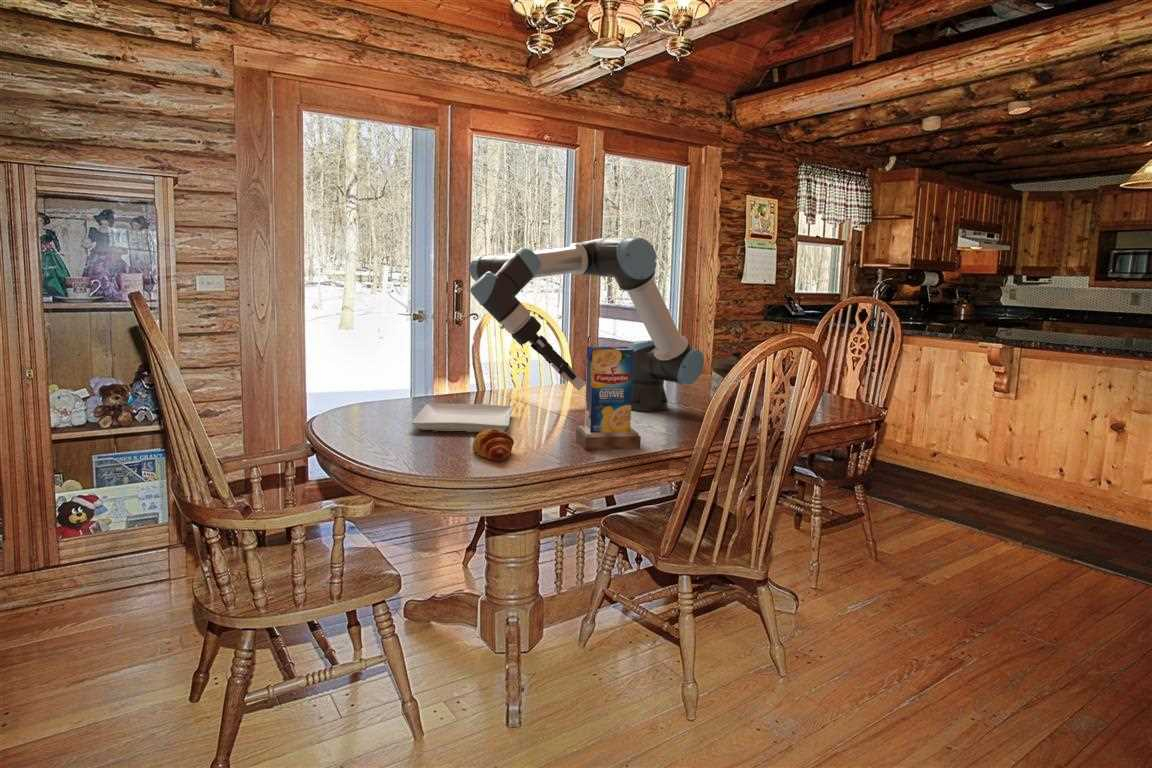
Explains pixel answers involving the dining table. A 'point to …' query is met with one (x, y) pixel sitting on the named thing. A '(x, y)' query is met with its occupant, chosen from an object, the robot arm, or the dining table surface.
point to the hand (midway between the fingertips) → (576, 382)
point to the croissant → (493, 444)
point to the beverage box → (608, 389)
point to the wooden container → (719, 372)
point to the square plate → (463, 417)
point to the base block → (607, 439)
